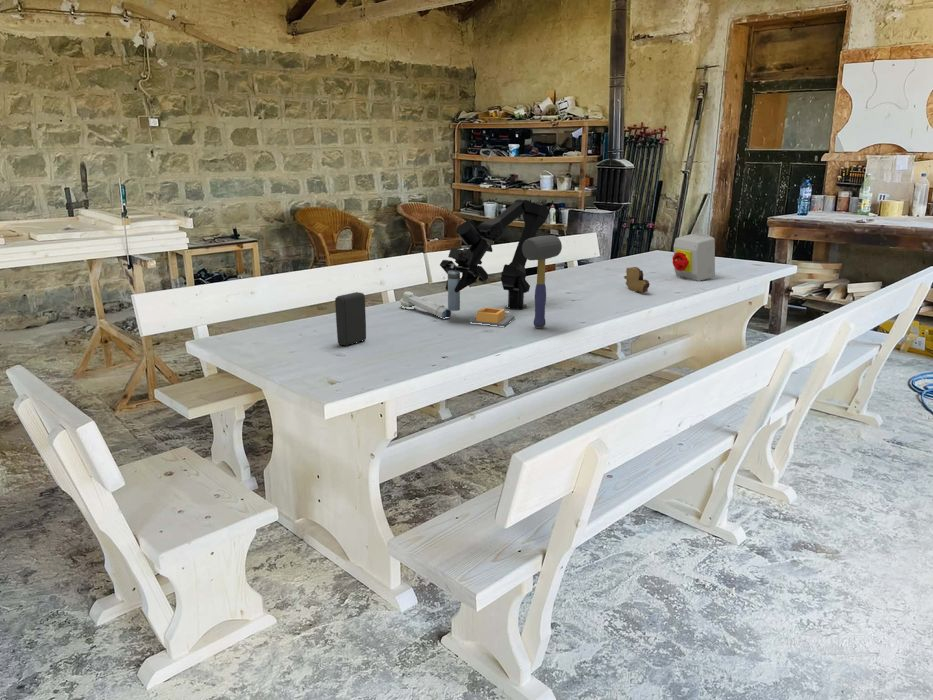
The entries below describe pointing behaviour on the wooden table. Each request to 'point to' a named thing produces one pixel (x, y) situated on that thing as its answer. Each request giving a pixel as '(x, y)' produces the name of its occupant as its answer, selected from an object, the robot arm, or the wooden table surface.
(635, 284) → the wooden carving
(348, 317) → the black upright block
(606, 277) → the wooden table surface
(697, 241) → the electrical switch box
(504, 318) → the panel
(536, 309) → the rubber mallet
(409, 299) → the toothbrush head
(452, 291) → the plug
